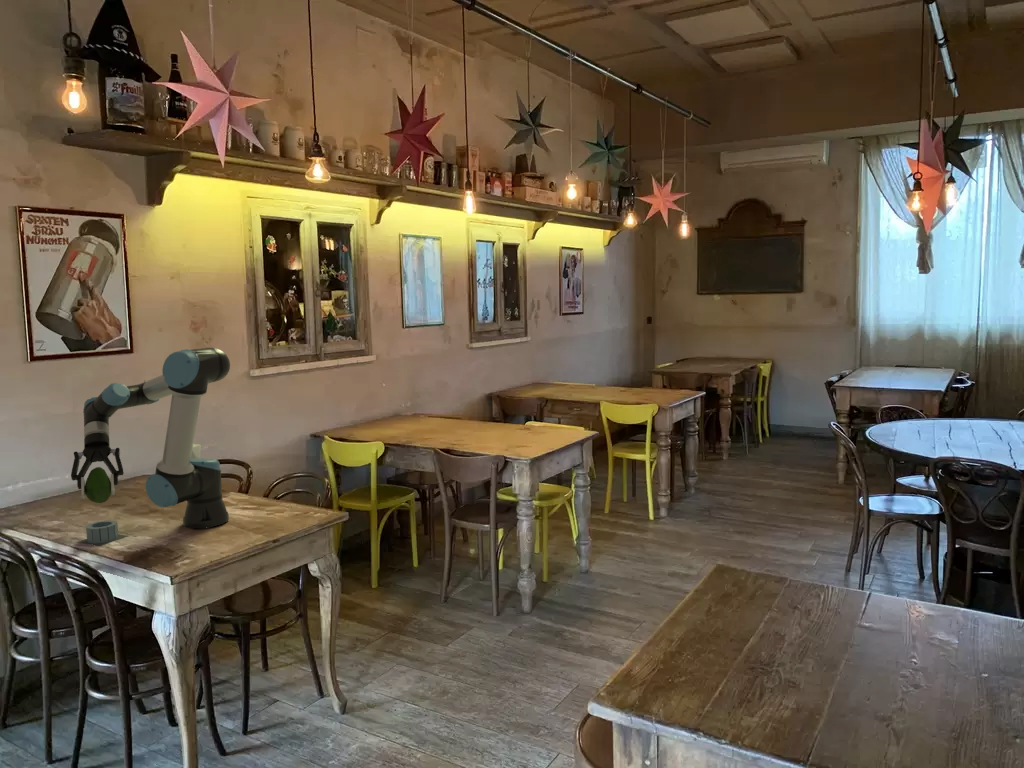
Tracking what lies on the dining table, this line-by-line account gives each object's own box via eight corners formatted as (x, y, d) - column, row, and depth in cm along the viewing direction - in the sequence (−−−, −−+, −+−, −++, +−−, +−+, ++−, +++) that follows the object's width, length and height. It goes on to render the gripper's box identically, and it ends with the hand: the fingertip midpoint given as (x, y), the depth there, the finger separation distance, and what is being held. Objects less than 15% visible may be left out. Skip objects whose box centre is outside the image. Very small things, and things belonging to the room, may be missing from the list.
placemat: (129, 537, 250) (128, 535, 250) (99, 547, 240) (99, 546, 240) (106, 533, 255) (106, 532, 255) (76, 543, 245) (76, 542, 245)
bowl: (124, 536, 250) (123, 522, 249) (100, 544, 242) (98, 530, 241) (105, 533, 253) (104, 519, 253) (81, 541, 245) (79, 526, 245)
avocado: (109, 498, 252) (106, 463, 250) (115, 502, 246) (112, 467, 244) (83, 502, 246) (80, 467, 245) (88, 507, 240) (85, 471, 239)
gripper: (131, 440, 262) (134, 496, 250) (63, 447, 253) (62, 504, 241) (129, 428, 257) (132, 484, 244) (60, 434, 248) (59, 492, 235)
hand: (98, 494), depth 243 cm, fingers closed on avocado, 8 cm apart
